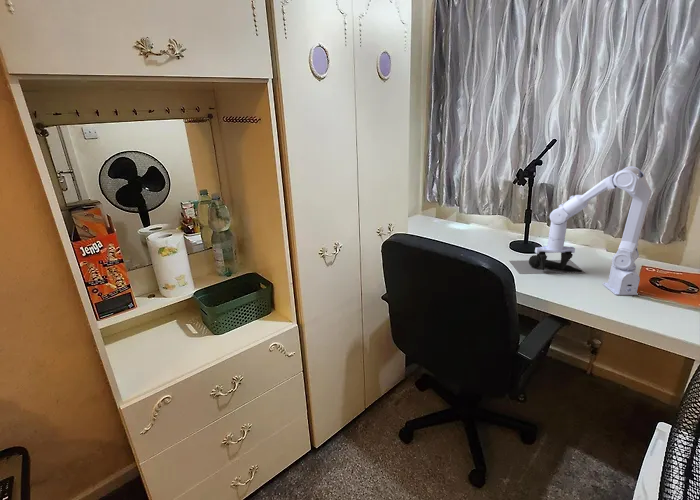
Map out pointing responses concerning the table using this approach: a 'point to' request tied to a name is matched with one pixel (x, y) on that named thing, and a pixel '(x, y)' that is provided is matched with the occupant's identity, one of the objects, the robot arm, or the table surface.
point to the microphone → (550, 264)
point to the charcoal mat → (525, 268)
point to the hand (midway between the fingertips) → (552, 269)
